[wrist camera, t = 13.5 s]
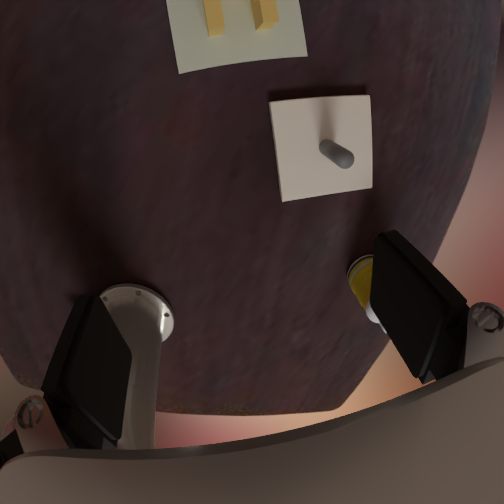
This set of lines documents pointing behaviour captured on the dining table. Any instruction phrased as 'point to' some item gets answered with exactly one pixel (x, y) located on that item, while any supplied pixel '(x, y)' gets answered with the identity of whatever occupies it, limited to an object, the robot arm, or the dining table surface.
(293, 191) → the stand
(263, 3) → the c link
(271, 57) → the mat
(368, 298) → the pill bottle
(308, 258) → the dining table surface
